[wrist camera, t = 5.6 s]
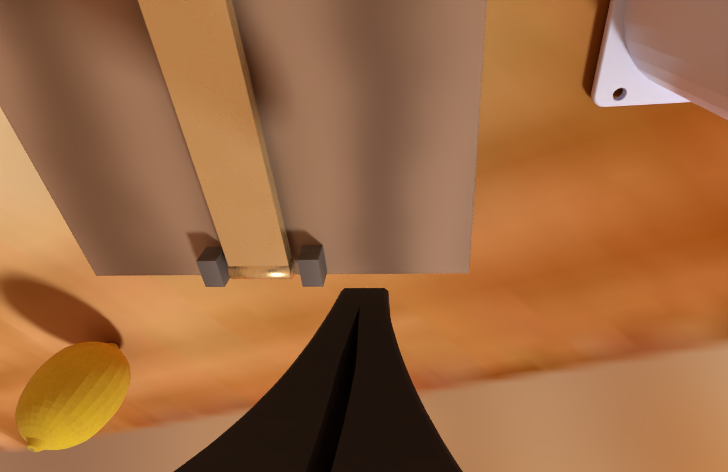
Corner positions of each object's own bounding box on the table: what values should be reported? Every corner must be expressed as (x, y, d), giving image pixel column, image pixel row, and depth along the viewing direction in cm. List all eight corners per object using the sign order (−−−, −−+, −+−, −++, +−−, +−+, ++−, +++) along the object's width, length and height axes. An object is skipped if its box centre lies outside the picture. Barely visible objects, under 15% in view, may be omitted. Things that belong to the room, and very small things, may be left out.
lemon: (61, 321, 30) (-39, 423, 23) (127, 314, 29) (41, 420, 22) (103, 371, 33) (24, 474, 26) (164, 367, 32) (98, 474, 25)
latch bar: (229, -25, 14) (217, -23, 13) (296, 270, 21) (291, 283, 20) (146, -16, 14) (129, -14, 13) (239, 270, 21) (231, 283, 20)
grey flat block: (481, -120, 14) (506, -149, 11) (462, 238, 22) (473, 295, 19) (-19, -56, 17) (-145, -61, 13) (127, 244, 25) (76, 295, 21)
